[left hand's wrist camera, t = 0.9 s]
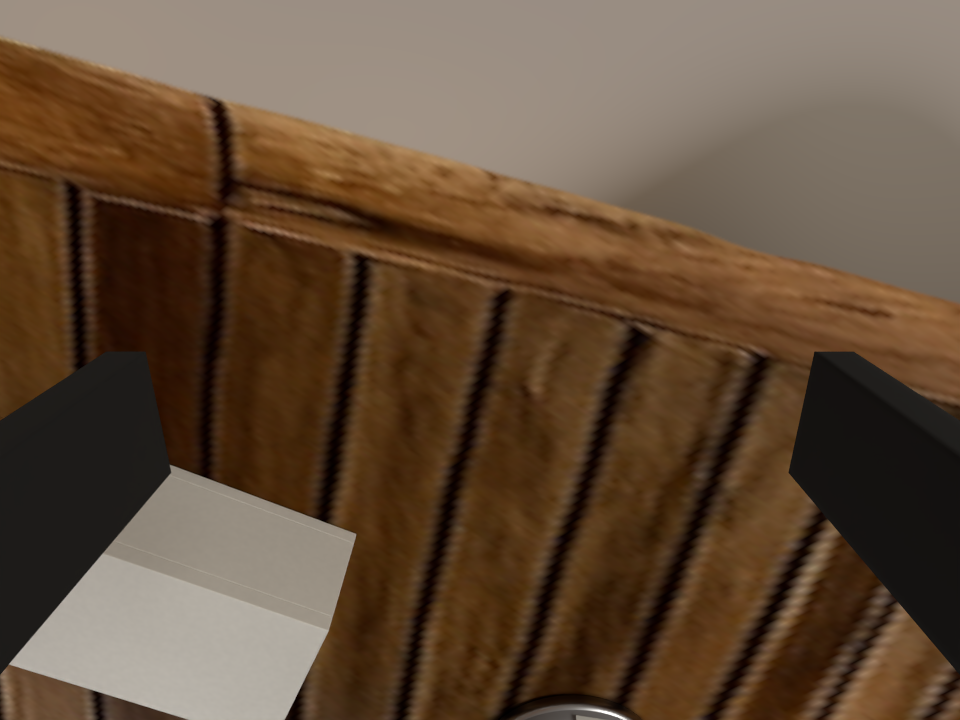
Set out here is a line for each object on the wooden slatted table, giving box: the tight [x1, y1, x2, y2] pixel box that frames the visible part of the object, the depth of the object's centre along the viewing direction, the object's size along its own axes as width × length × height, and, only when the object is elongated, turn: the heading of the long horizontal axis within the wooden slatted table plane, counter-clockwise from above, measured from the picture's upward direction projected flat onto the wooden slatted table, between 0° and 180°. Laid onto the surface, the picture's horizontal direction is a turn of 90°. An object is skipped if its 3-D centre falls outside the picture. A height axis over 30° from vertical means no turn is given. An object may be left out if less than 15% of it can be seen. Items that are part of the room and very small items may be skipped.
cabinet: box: [9, 465, 356, 720], centre depth 41 cm, size 20×11×9 cm, turn 65°
